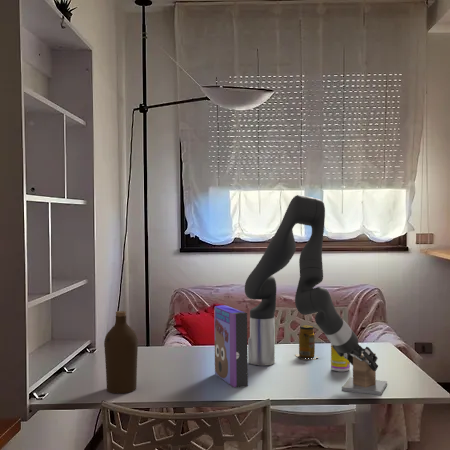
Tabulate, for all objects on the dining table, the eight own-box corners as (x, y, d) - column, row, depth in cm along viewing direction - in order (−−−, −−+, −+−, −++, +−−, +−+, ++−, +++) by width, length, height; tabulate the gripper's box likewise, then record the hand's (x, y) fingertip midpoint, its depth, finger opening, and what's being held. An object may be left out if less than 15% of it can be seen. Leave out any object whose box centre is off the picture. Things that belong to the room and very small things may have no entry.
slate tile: (341, 390, 180) (341, 387, 180) (350, 380, 191) (350, 377, 191) (380, 394, 175) (380, 391, 175) (386, 384, 186) (386, 381, 186)
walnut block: (365, 387, 179) (365, 355, 179) (353, 383, 183) (352, 352, 183) (375, 384, 182) (375, 353, 182) (363, 381, 186) (363, 350, 186)
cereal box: (214, 374, 199) (214, 305, 199) (227, 372, 201) (226, 304, 201) (234, 387, 183) (233, 313, 183) (247, 386, 185) (247, 312, 185)
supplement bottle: (350, 372, 200) (349, 336, 200) (330, 371, 201) (330, 335, 201) (349, 367, 207) (349, 332, 206) (331, 366, 208) (330, 331, 208)
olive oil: (131, 395, 176) (130, 314, 176) (99, 393, 179) (98, 313, 178) (143, 385, 187) (142, 309, 186) (113, 383, 189) (112, 308, 189)
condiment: (312, 354, 227) (311, 324, 227) (320, 359, 219) (319, 328, 219) (294, 355, 226) (294, 325, 226) (302, 360, 217) (302, 329, 217)
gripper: (364, 328, 172) (388, 360, 178) (329, 322, 183) (353, 352, 190) (352, 348, 168) (377, 380, 175) (317, 340, 180) (342, 370, 187)
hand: (365, 366), depth 183 cm, fingers open, 8 cm apart
